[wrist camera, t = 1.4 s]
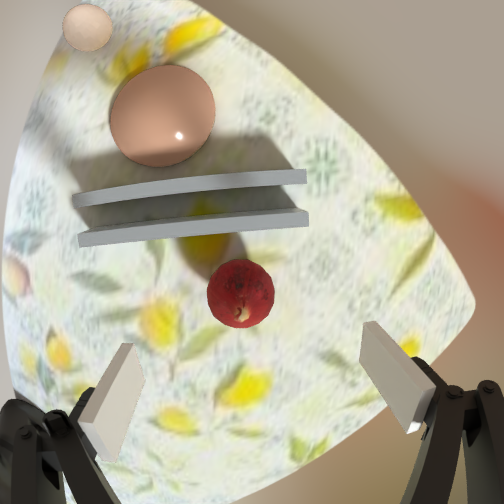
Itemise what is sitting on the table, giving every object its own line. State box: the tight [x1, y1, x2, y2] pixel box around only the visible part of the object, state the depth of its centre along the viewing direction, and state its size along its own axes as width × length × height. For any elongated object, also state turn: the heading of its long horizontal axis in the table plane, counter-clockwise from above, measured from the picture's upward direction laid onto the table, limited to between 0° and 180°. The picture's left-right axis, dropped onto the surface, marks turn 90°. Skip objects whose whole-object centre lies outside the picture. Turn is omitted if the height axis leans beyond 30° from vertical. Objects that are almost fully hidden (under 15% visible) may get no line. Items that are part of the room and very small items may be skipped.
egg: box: [63, 4, 113, 52], centre depth 18 cm, size 5×5×7 cm
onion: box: [207, 259, 275, 328], centre depth 25 cm, size 6×6×8 cm
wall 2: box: [72, 169, 307, 208], centre depth 24 cm, size 20×1×4 cm, turn 94°
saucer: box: [110, 65, 215, 167], centre depth 24 cm, size 10×10×1 cm
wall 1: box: [77, 208, 309, 248], centre depth 25 cm, size 20×1×4 cm, turn 94°
